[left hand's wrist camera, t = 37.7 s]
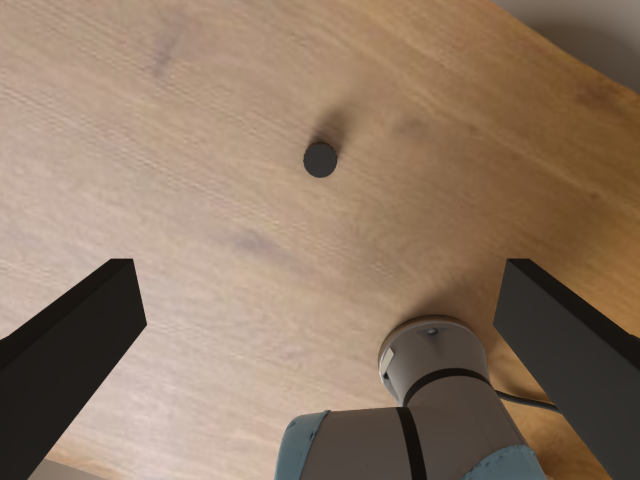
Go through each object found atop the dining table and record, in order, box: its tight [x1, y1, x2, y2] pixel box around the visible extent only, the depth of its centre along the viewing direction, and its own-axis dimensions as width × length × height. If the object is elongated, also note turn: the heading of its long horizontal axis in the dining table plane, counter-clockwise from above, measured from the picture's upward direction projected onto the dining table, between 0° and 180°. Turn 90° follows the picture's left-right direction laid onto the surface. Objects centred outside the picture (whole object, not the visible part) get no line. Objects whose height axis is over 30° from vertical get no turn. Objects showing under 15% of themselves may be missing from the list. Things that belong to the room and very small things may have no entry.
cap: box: [303, 142, 337, 178], centre depth 41 cm, size 4×4×2 cm
